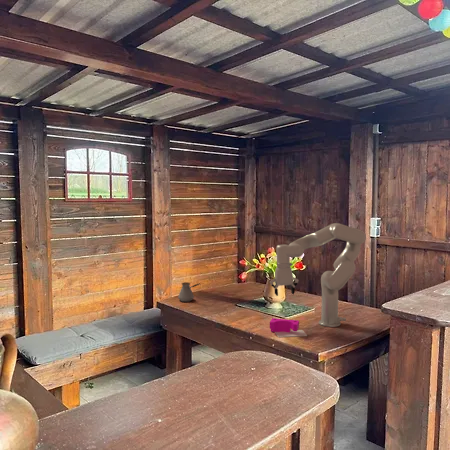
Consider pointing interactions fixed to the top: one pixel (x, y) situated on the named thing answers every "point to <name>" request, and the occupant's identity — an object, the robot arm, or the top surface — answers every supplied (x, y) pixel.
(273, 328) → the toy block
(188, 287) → the coffee pot
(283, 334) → the mat
